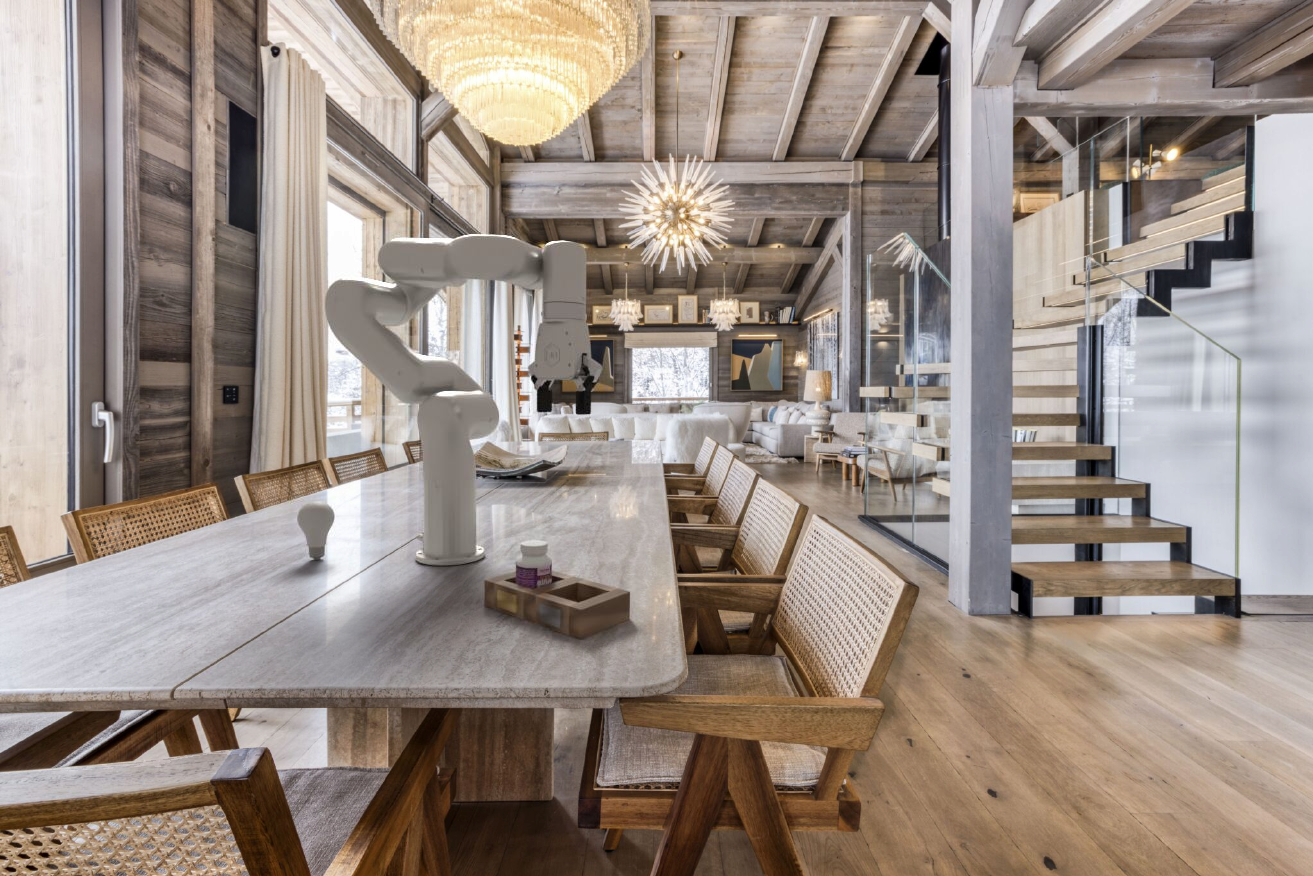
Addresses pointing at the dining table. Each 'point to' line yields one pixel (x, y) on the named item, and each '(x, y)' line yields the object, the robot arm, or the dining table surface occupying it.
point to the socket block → (560, 603)
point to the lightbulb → (316, 526)
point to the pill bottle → (534, 565)
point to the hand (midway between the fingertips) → (563, 413)
